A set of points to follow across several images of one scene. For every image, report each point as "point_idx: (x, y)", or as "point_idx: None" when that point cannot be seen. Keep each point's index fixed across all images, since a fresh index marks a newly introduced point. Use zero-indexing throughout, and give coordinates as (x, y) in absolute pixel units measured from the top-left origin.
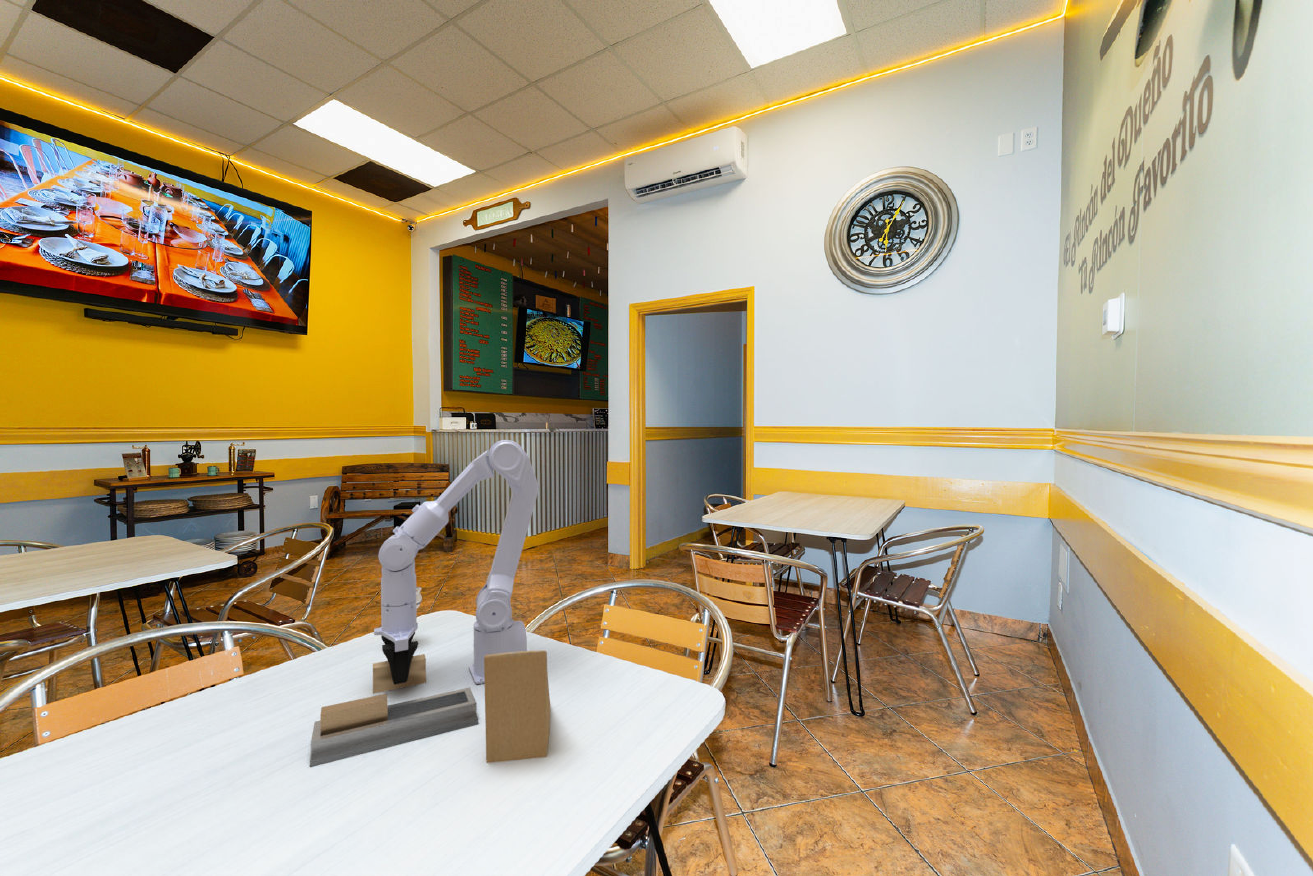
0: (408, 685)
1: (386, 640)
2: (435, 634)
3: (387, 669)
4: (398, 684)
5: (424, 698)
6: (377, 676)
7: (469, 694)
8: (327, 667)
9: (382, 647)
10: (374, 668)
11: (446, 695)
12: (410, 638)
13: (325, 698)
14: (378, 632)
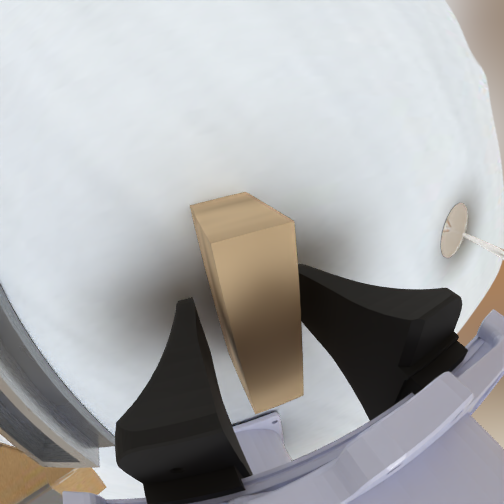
0: (218, 316)
1: (395, 335)
2: (464, 277)
3: (222, 301)
4: (213, 296)
5: (30, 415)
6: (205, 247)
7: (69, 465)
8: (429, 54)
9: (165, 443)
10: (212, 252)
11: (56, 443)
12: (365, 405)
13: (213, 31)
14: (350, 487)
